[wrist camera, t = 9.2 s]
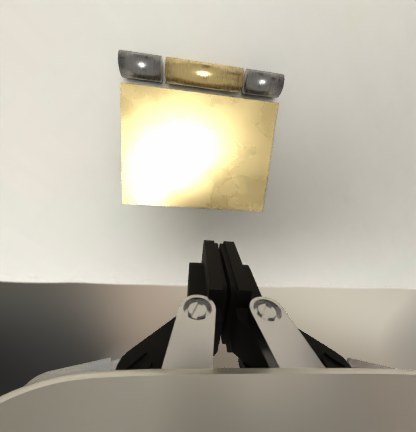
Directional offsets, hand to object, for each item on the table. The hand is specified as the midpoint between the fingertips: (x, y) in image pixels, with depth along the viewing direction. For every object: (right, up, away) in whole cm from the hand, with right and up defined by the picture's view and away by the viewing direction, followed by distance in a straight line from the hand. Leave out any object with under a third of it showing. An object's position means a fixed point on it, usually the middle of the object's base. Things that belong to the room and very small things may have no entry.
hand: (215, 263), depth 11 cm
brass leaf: (-1, +10, +8) cm, 13 cm away
